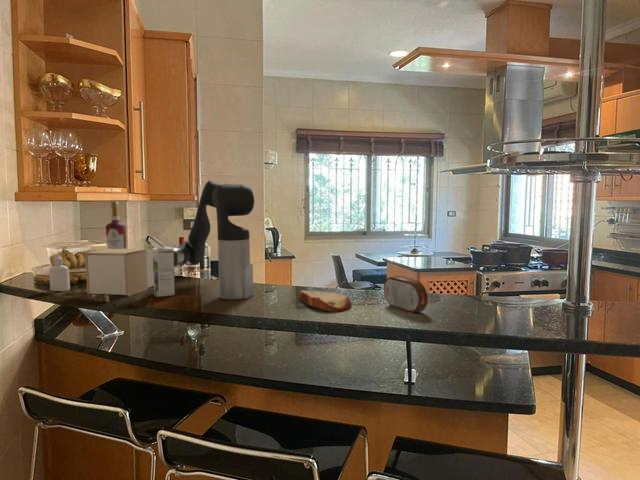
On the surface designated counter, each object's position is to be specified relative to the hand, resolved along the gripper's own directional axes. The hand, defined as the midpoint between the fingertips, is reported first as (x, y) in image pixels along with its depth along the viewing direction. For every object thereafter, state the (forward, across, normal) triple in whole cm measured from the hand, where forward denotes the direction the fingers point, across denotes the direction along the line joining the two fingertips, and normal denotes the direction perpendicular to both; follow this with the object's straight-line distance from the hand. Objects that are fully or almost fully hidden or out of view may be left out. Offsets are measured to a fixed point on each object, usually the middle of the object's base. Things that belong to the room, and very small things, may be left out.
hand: (142, 264), depth 165 cm
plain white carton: (+10, 0, +7) cm, 12 cm away
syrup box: (+14, +17, +7) cm, 23 cm away
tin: (+19, +90, +8) cm, 92 cm away
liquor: (-17, -22, +7) cm, 29 cm away
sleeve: (+13, 0, +7) cm, 15 cm away
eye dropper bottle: (+15, -20, +7) cm, 26 cm away
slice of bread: (+17, +67, +8) cm, 70 cm away
